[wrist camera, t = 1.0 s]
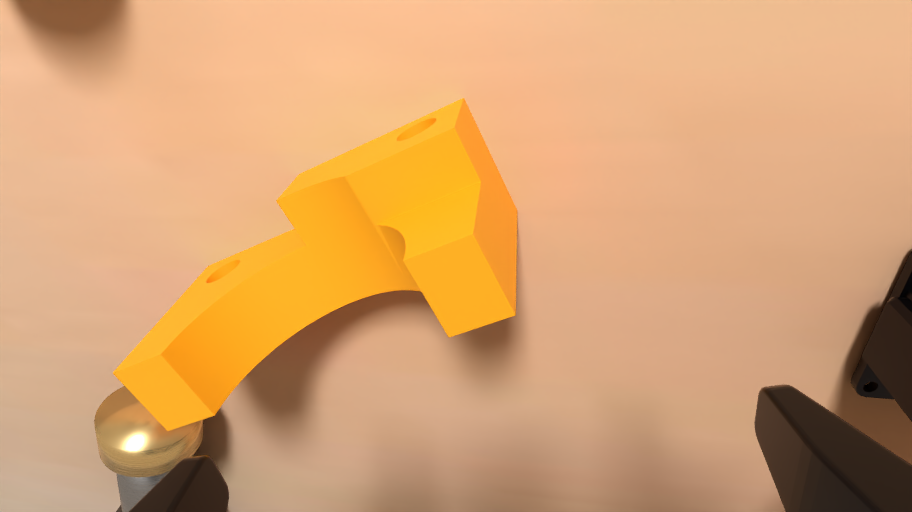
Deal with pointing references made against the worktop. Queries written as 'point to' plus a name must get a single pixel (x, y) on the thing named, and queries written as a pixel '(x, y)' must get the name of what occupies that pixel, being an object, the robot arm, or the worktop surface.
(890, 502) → the robot arm
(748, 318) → the worktop surface
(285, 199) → the pipe clamp
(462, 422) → the worktop surface
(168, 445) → the shaft
